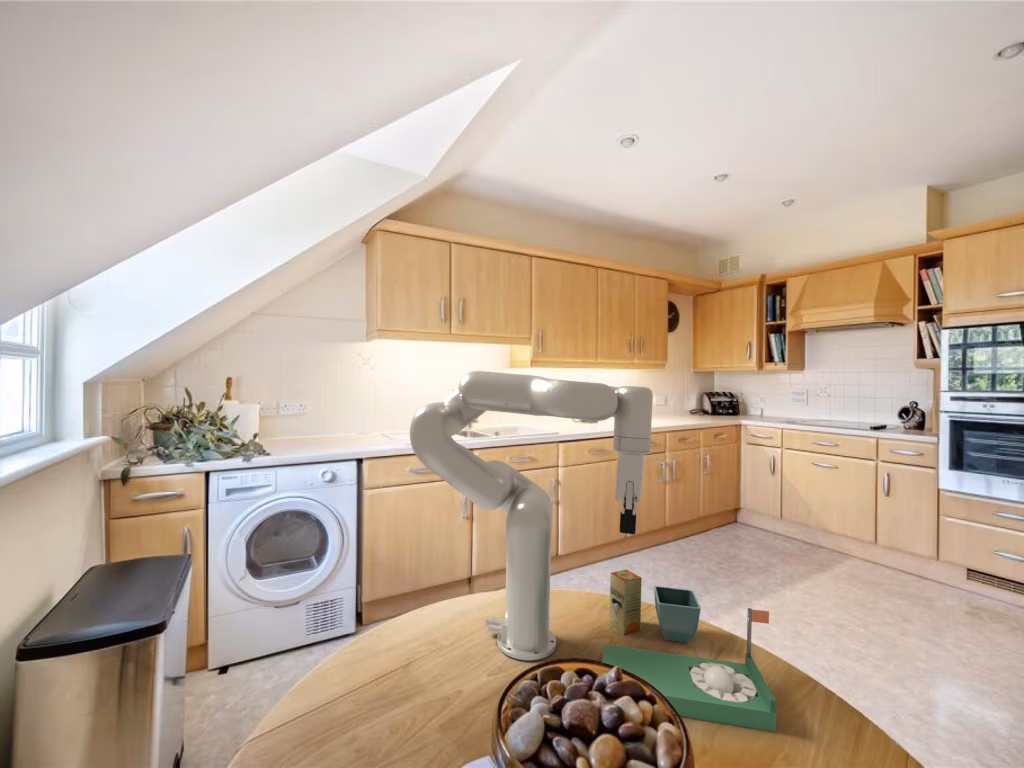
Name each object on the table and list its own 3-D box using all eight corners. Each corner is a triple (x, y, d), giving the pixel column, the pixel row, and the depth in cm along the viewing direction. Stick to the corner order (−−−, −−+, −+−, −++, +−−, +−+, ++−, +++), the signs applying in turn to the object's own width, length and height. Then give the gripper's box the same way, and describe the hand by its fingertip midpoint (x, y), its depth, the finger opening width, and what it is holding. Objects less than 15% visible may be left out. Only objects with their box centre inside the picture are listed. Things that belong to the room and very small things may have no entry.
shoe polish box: (623, 635, 99) (624, 581, 99) (609, 624, 103) (610, 572, 103) (640, 630, 101) (641, 577, 101) (625, 619, 105) (626, 569, 105)
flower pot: (700, 650, 94) (701, 608, 94) (657, 644, 95) (658, 602, 95) (692, 628, 102) (693, 589, 102) (652, 623, 104) (653, 585, 104)
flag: (746, 684, 83) (748, 609, 83) (745, 681, 84) (747, 607, 84) (768, 687, 82) (769, 611, 82) (766, 684, 83) (768, 610, 83)
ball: (734, 703, 75) (703, 698, 78) (736, 700, 79) (706, 695, 81) (729, 668, 78) (699, 665, 80) (732, 667, 81) (703, 663, 84)
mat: (602, 703, 77) (603, 674, 77) (602, 658, 90) (603, 634, 90) (775, 731, 71) (776, 700, 72) (749, 680, 84) (749, 653, 84)
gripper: (614, 439, 101) (610, 520, 101) (611, 447, 86) (607, 541, 86) (648, 442, 99) (644, 524, 99) (652, 451, 84) (647, 547, 84)
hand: (627, 532), depth 92 cm, fingers closed
